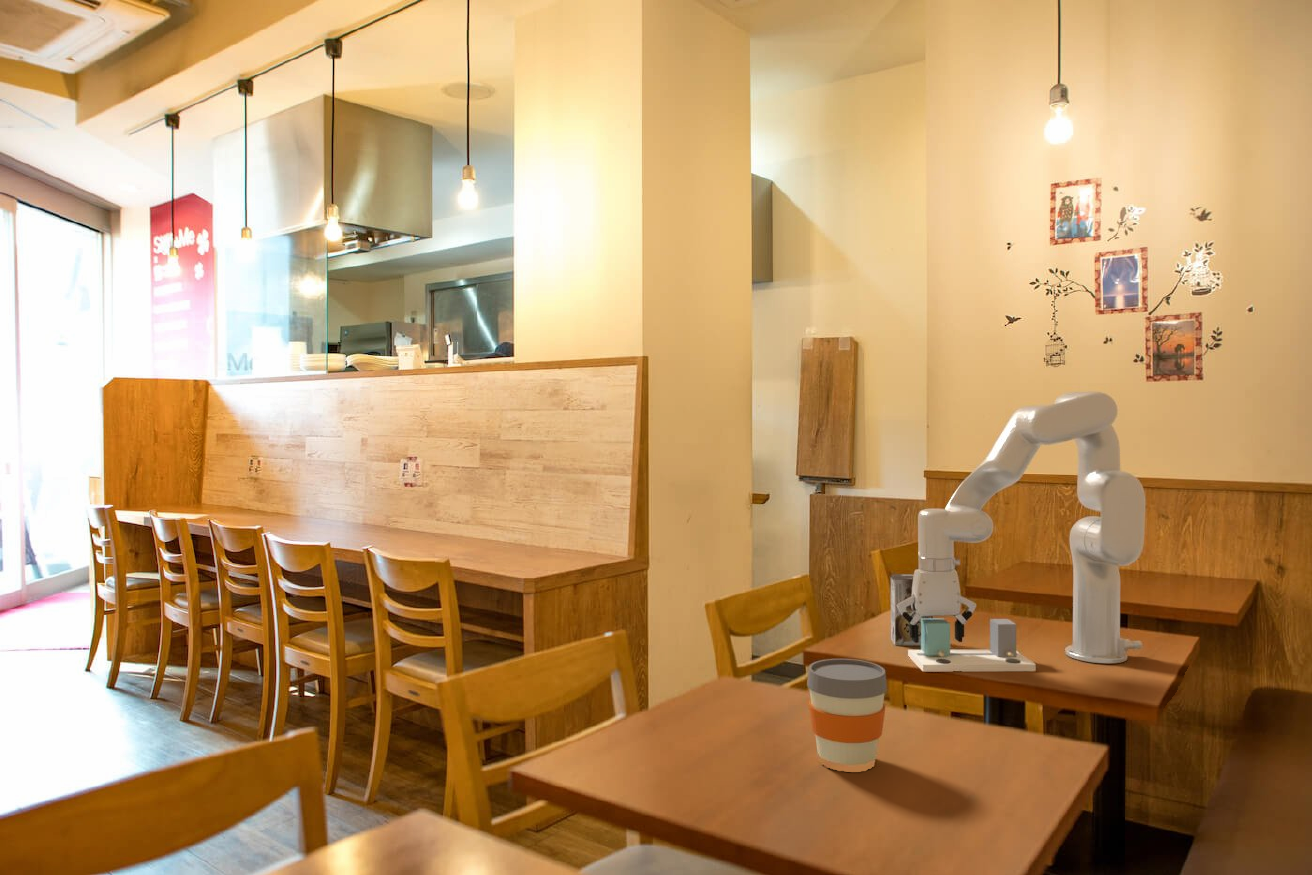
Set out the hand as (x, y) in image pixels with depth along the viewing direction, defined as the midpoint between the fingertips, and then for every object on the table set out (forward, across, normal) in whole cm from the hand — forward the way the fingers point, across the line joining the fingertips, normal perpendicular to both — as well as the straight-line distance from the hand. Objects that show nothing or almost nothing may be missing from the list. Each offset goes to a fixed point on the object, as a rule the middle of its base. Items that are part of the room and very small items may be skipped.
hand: (936, 640), depth 201 cm
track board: (+5, -7, +2) cm, 8 cm away
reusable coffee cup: (+4, +31, +57) cm, 65 cm away
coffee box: (+5, +1, -16) cm, 17 cm away
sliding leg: (+2, 0, +1) cm, 3 cm away
